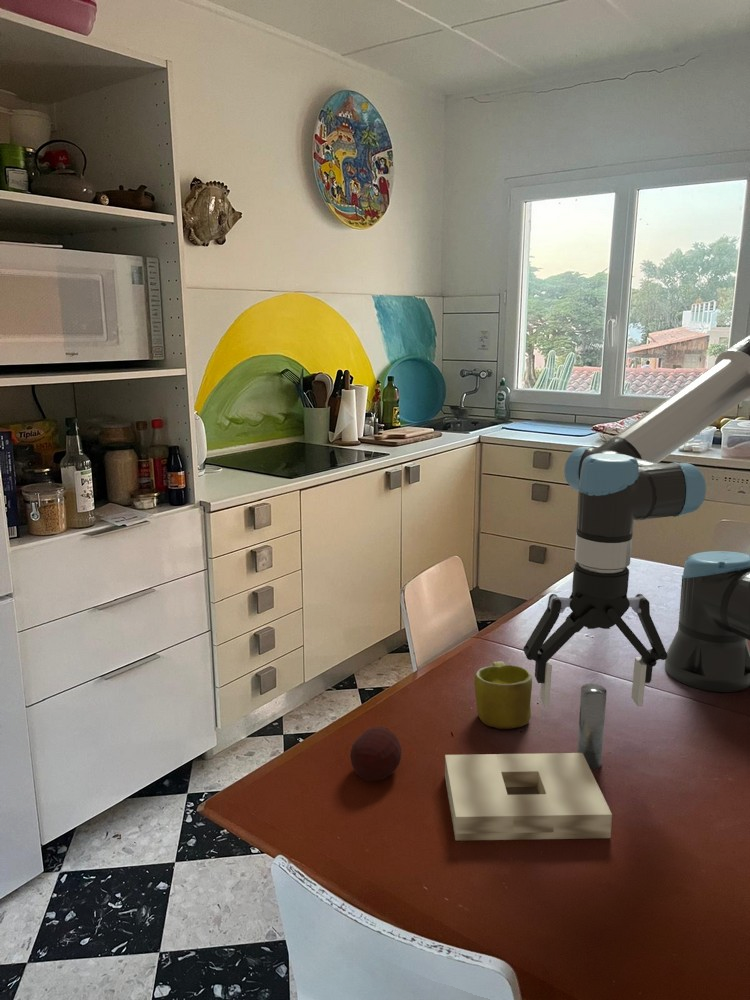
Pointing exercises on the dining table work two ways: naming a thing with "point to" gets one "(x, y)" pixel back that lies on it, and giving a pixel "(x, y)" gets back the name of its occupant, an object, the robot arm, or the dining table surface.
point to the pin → (592, 723)
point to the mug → (503, 695)
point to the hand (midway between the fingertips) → (590, 702)
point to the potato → (375, 754)
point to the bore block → (525, 797)
